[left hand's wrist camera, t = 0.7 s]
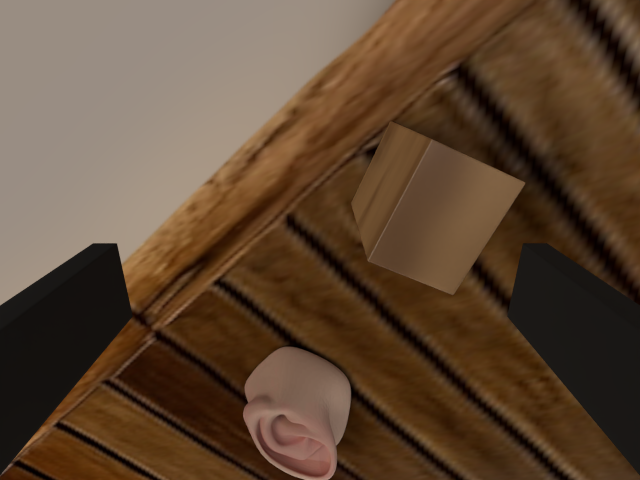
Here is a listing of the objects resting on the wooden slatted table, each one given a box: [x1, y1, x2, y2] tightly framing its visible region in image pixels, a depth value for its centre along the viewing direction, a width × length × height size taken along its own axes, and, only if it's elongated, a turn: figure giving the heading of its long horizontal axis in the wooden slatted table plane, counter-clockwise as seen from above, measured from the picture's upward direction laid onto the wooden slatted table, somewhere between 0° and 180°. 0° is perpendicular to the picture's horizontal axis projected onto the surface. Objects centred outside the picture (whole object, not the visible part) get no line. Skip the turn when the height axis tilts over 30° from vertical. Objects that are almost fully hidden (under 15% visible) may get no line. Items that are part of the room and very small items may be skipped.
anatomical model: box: [243, 347, 351, 480], centre depth 37 cm, size 13×4×12 cm
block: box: [351, 121, 525, 295], centre depth 25 cm, size 6×7×11 cm
